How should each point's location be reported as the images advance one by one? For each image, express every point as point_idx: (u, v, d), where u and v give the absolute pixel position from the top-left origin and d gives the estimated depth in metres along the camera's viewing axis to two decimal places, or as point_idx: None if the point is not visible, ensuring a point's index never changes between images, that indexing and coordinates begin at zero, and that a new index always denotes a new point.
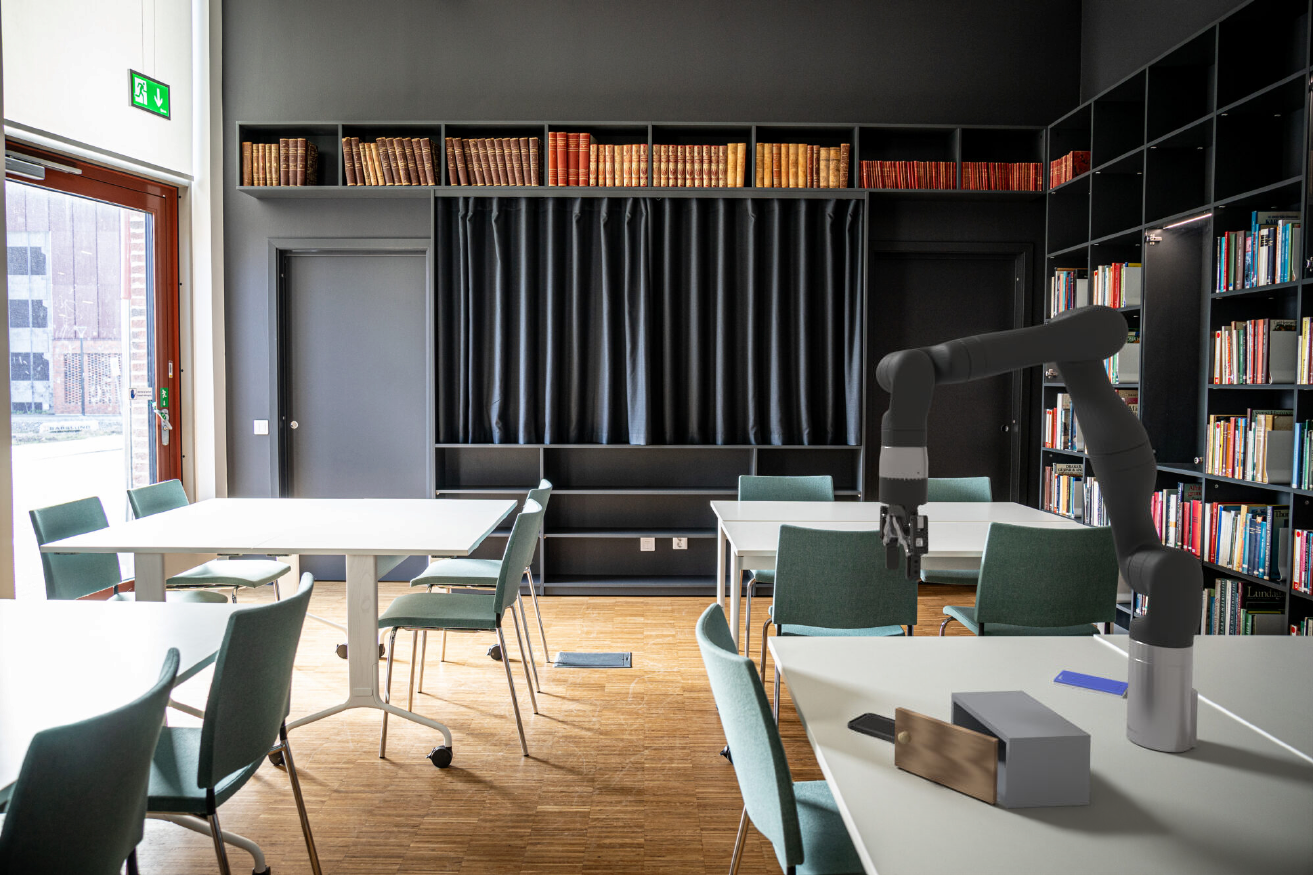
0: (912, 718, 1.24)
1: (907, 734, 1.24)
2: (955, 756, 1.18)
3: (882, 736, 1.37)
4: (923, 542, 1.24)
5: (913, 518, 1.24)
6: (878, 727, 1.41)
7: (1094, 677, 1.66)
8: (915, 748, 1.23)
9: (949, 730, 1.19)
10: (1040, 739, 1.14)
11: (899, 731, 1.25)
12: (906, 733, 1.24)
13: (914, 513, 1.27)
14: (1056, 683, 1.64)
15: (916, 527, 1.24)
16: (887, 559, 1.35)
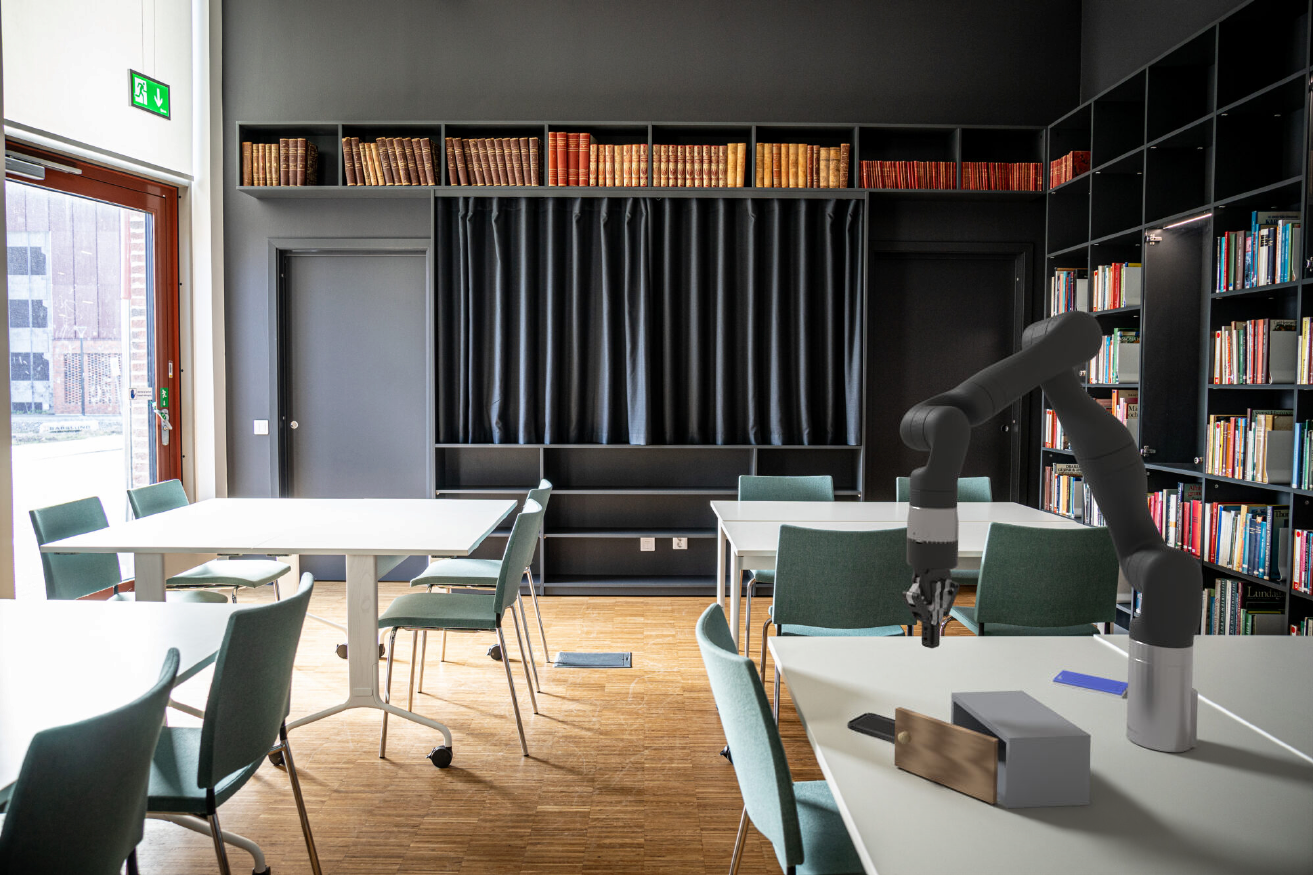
0: (912, 718, 1.24)
1: (907, 734, 1.24)
2: (955, 756, 1.18)
3: (882, 736, 1.37)
4: None
5: (958, 587, 1.28)
6: (878, 727, 1.41)
7: (1094, 677, 1.66)
8: (915, 748, 1.23)
9: (949, 730, 1.19)
10: (1040, 739, 1.14)
11: (899, 731, 1.25)
12: (906, 733, 1.24)
13: None
14: (1055, 683, 1.64)
15: None
16: None
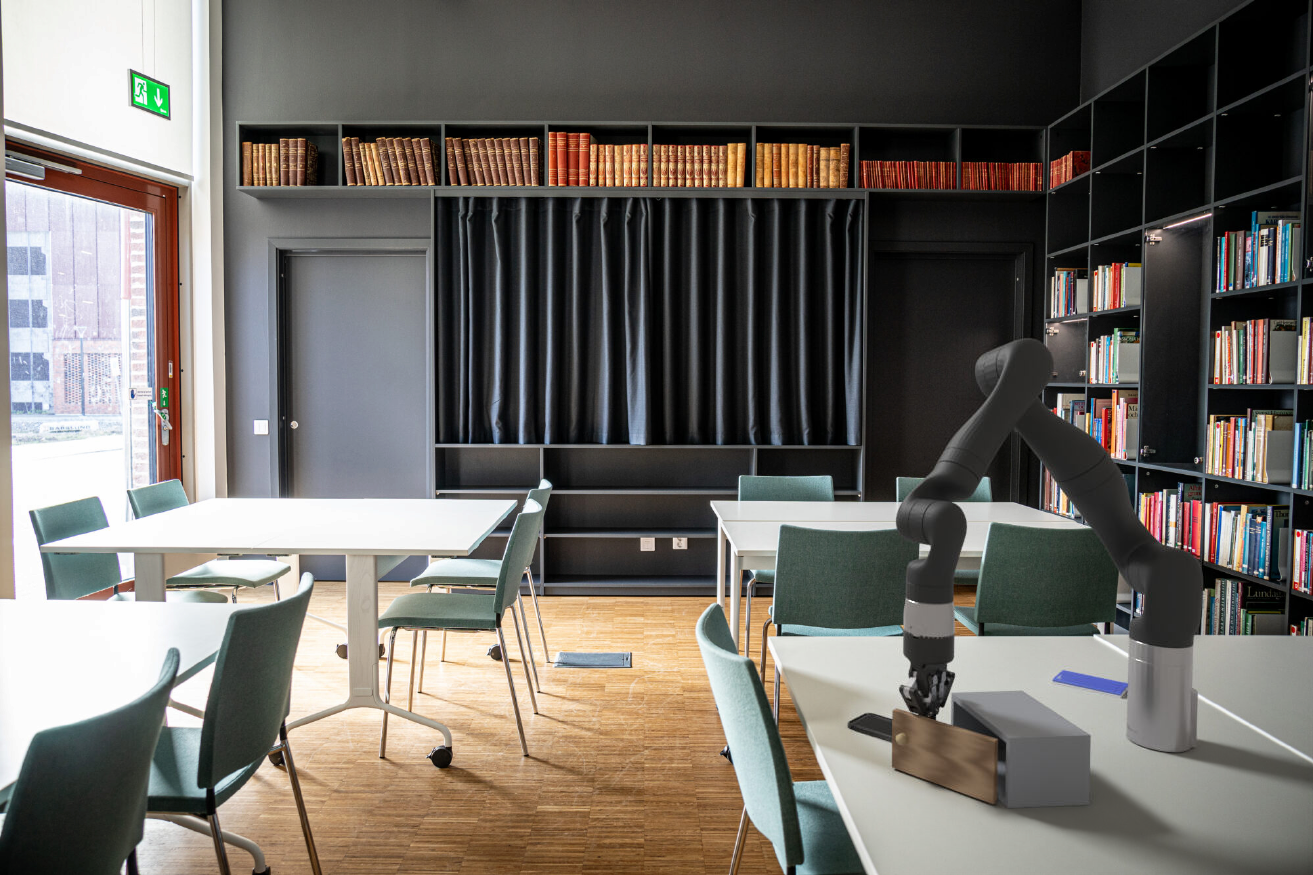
0: (910, 719, 1.23)
1: (905, 736, 1.23)
2: (954, 757, 1.18)
3: (882, 736, 1.37)
4: None
5: None
6: (878, 727, 1.41)
7: (1093, 677, 1.66)
8: (913, 749, 1.23)
9: (948, 731, 1.19)
10: (1040, 739, 1.14)
11: (896, 733, 1.25)
12: (904, 735, 1.23)
13: None
14: (1055, 682, 1.64)
15: None
16: None
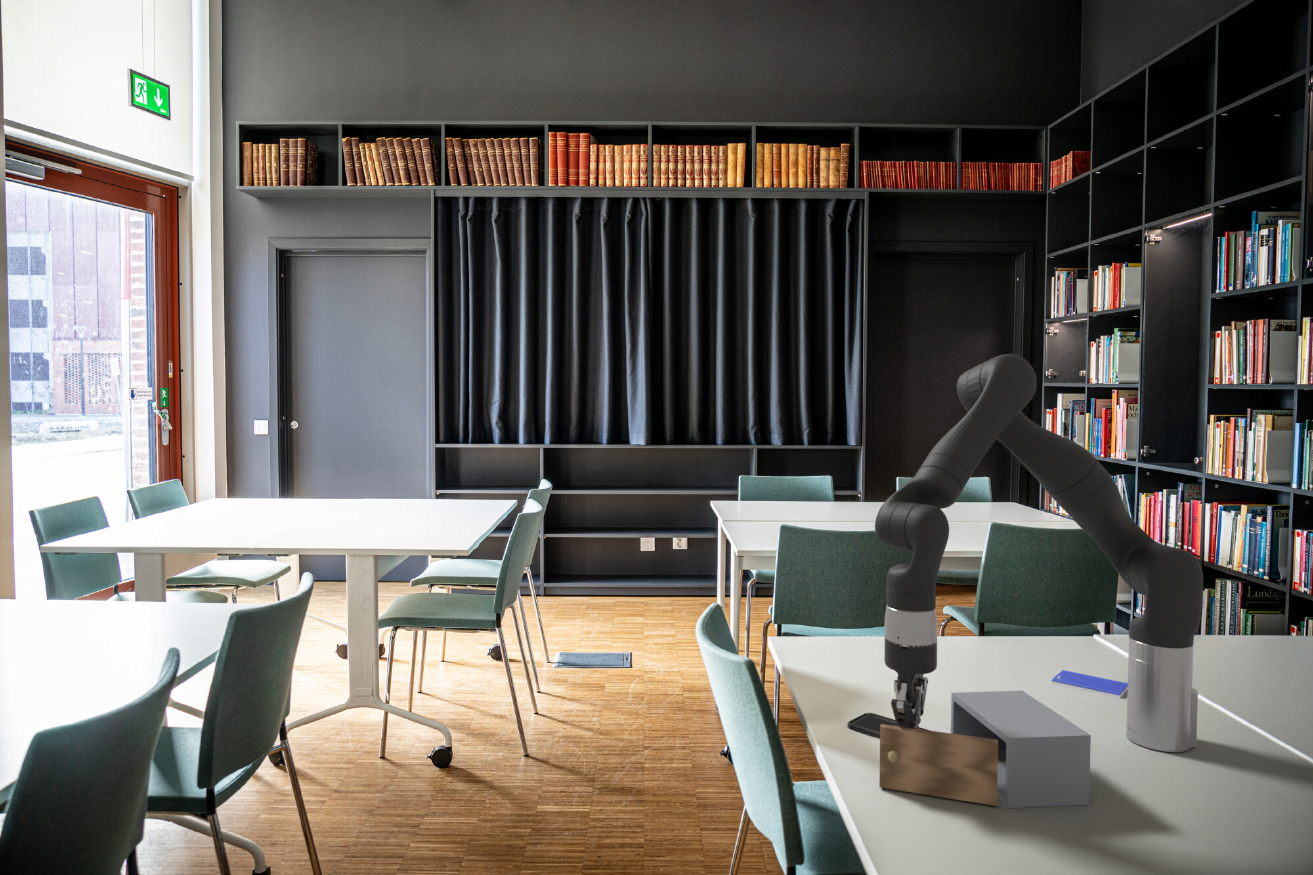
0: (901, 734, 1.18)
1: (897, 752, 1.17)
2: (953, 765, 1.15)
3: None
4: None
5: (926, 681, 1.26)
6: (878, 727, 1.41)
7: (1093, 677, 1.66)
8: (905, 765, 1.18)
9: (946, 739, 1.16)
10: (1040, 739, 1.14)
11: (885, 750, 1.19)
12: (896, 751, 1.18)
13: None
14: (1054, 683, 1.64)
15: None
16: None
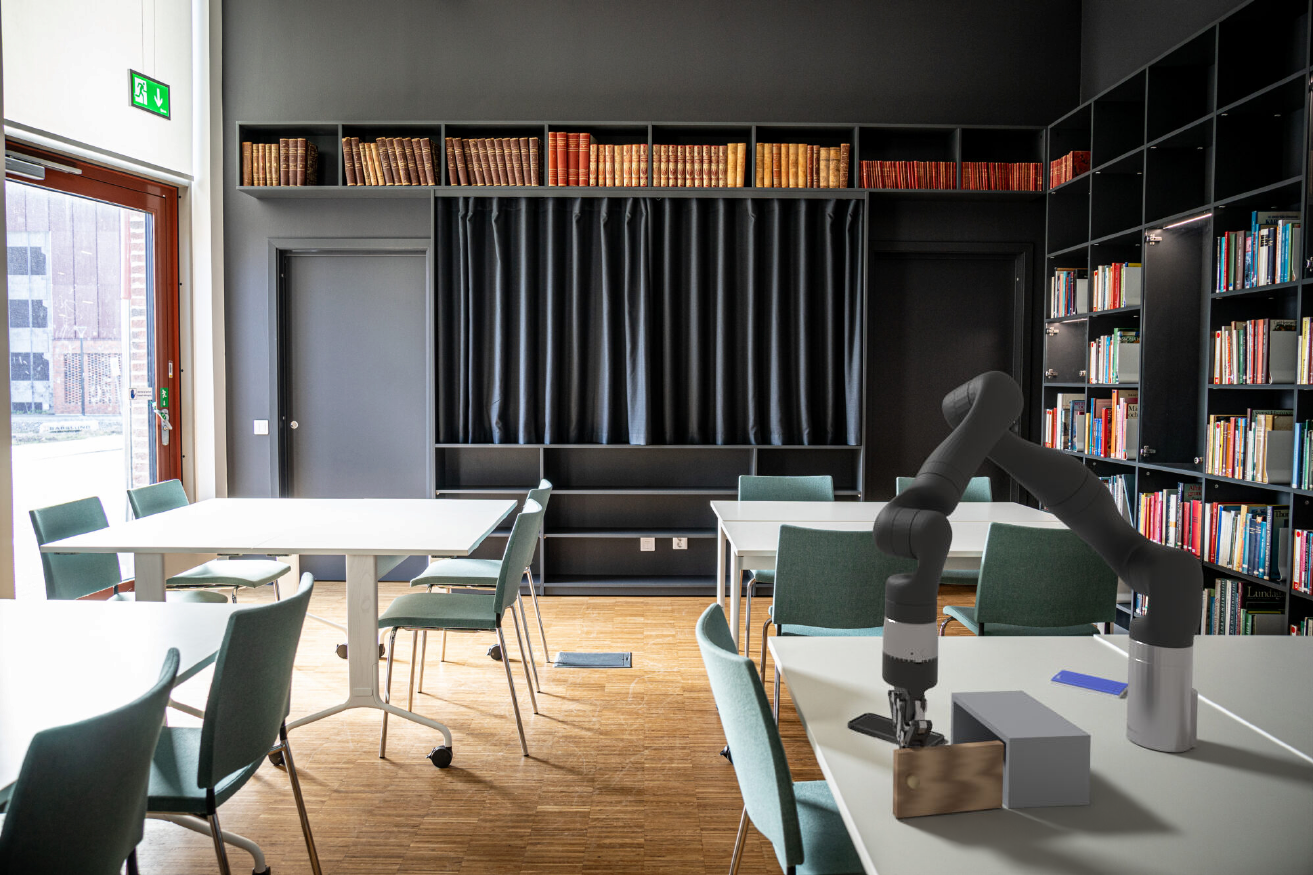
0: (918, 755, 1.10)
1: (916, 776, 1.10)
2: (965, 776, 1.12)
3: (882, 736, 1.37)
4: None
5: None
6: (878, 727, 1.41)
7: (1093, 677, 1.66)
8: (922, 787, 1.11)
9: (959, 751, 1.12)
10: (1040, 739, 1.14)
11: (902, 776, 1.10)
12: (915, 775, 1.10)
13: None
14: (1053, 682, 1.64)
15: None
16: None
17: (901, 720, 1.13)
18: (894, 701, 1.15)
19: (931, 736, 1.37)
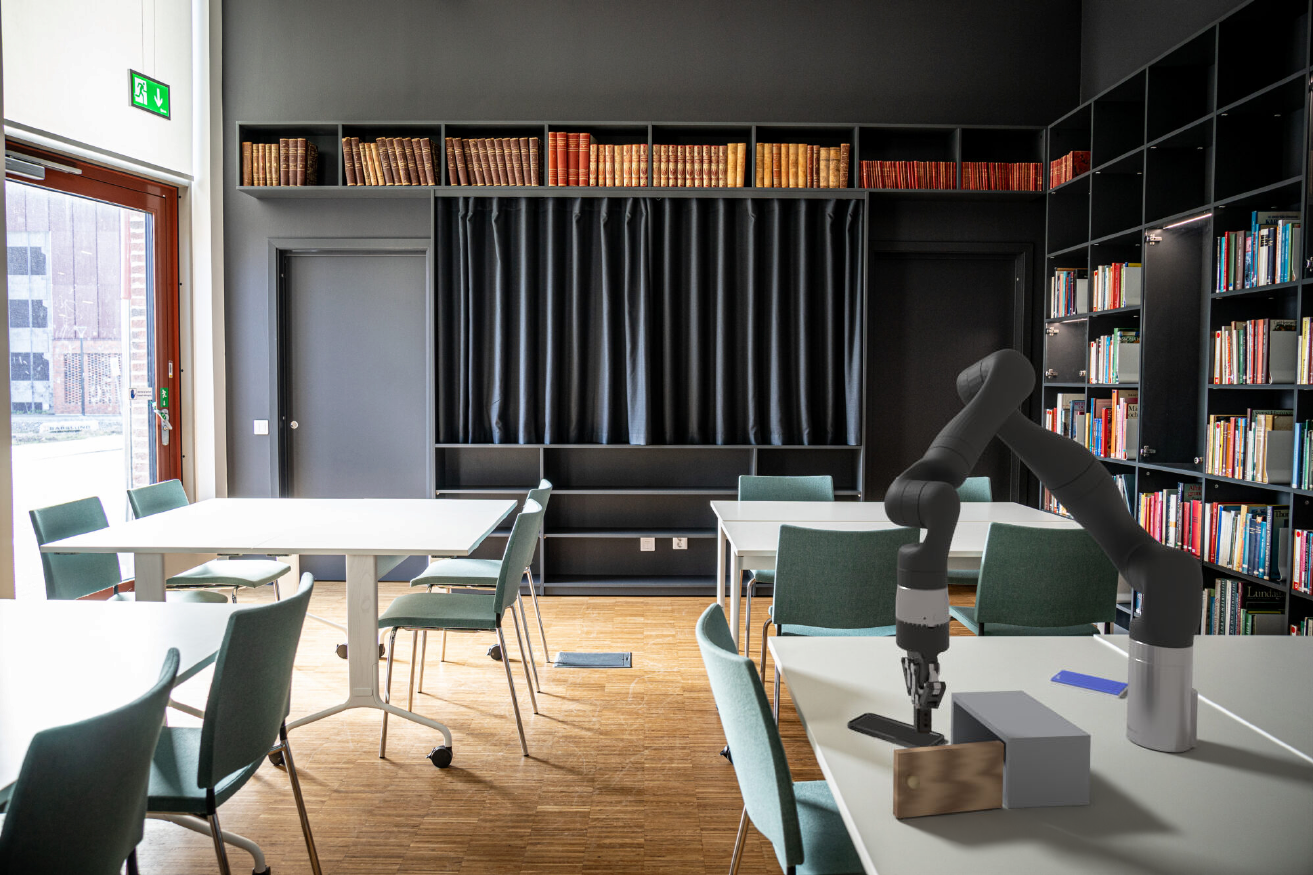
0: (918, 756, 1.10)
1: (916, 776, 1.10)
2: (965, 776, 1.12)
3: (882, 736, 1.37)
4: None
5: None
6: (878, 727, 1.41)
7: (1093, 677, 1.66)
8: (922, 787, 1.11)
9: (959, 752, 1.12)
10: (1040, 739, 1.14)
11: (903, 777, 1.10)
12: (915, 775, 1.10)
13: None
14: (1053, 682, 1.64)
15: None
16: None
17: (915, 683, 1.18)
18: (908, 666, 1.20)
19: (931, 736, 1.37)
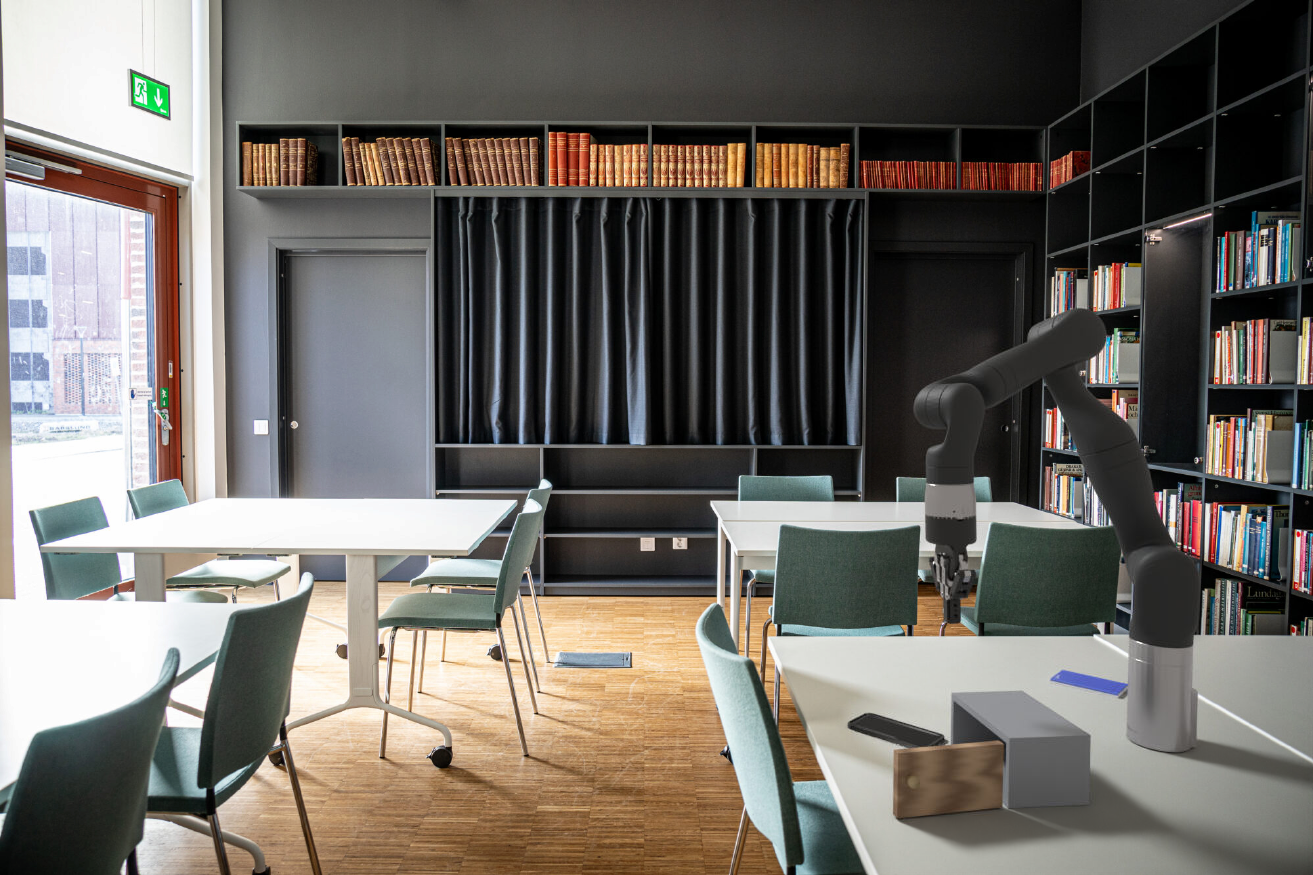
0: (918, 756, 1.10)
1: (916, 776, 1.10)
2: (965, 776, 1.12)
3: (882, 736, 1.37)
4: None
5: None
6: (878, 727, 1.41)
7: (1092, 677, 1.66)
8: (922, 787, 1.11)
9: (959, 752, 1.12)
10: (1040, 739, 1.14)
11: (903, 777, 1.10)
12: (915, 775, 1.10)
13: None
14: (1053, 682, 1.65)
15: None
16: None
17: (945, 575, 1.24)
18: (937, 561, 1.27)
19: (931, 736, 1.37)
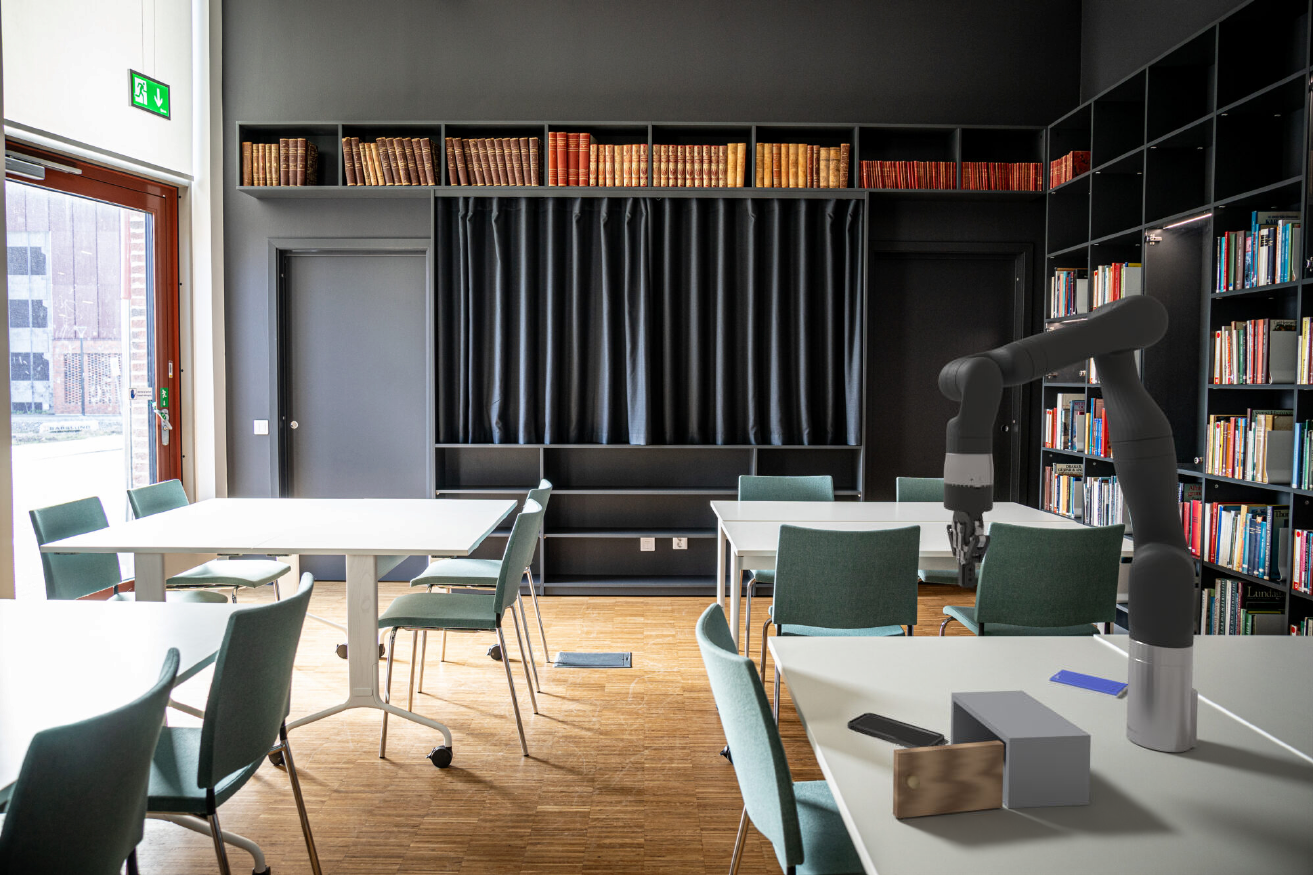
0: (918, 756, 1.10)
1: (916, 776, 1.10)
2: (965, 776, 1.12)
3: (882, 736, 1.37)
4: None
5: None
6: (878, 727, 1.41)
7: (1092, 677, 1.66)
8: (922, 787, 1.11)
9: (959, 752, 1.12)
10: (1040, 739, 1.14)
11: (903, 777, 1.10)
12: (915, 775, 1.10)
13: None
14: (1052, 682, 1.65)
15: None
16: None
17: (961, 541, 1.30)
18: (954, 528, 1.32)
19: (931, 736, 1.37)
